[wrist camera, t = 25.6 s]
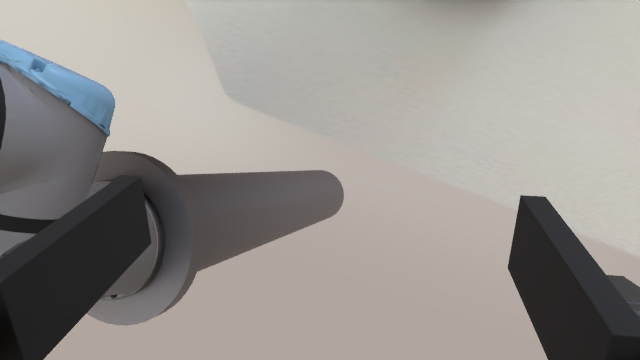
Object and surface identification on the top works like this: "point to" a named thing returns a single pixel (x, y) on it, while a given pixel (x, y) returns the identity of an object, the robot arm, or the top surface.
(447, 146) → the top surface
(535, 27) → the top surface
